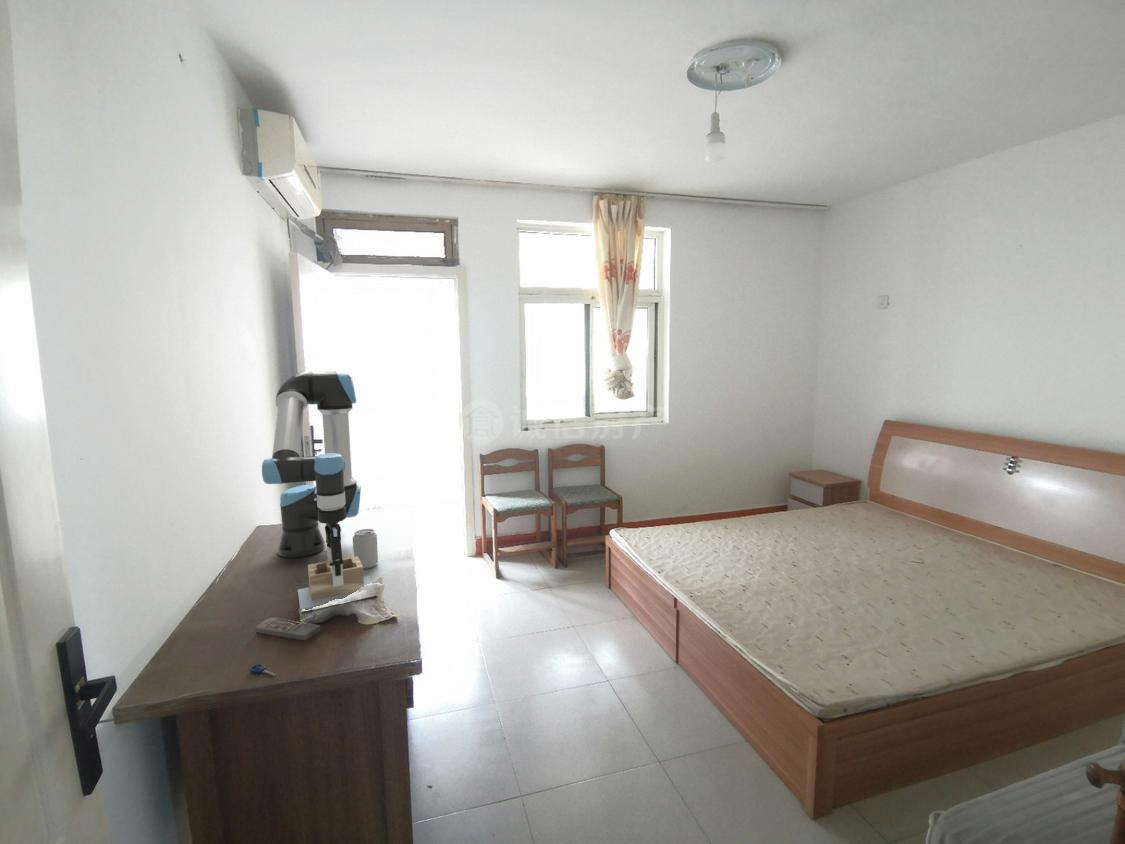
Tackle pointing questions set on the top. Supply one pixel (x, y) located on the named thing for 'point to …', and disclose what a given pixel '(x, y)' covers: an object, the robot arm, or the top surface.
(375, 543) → the can
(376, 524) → the top surface
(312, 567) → the wooden cubby shelf
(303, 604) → the panel
